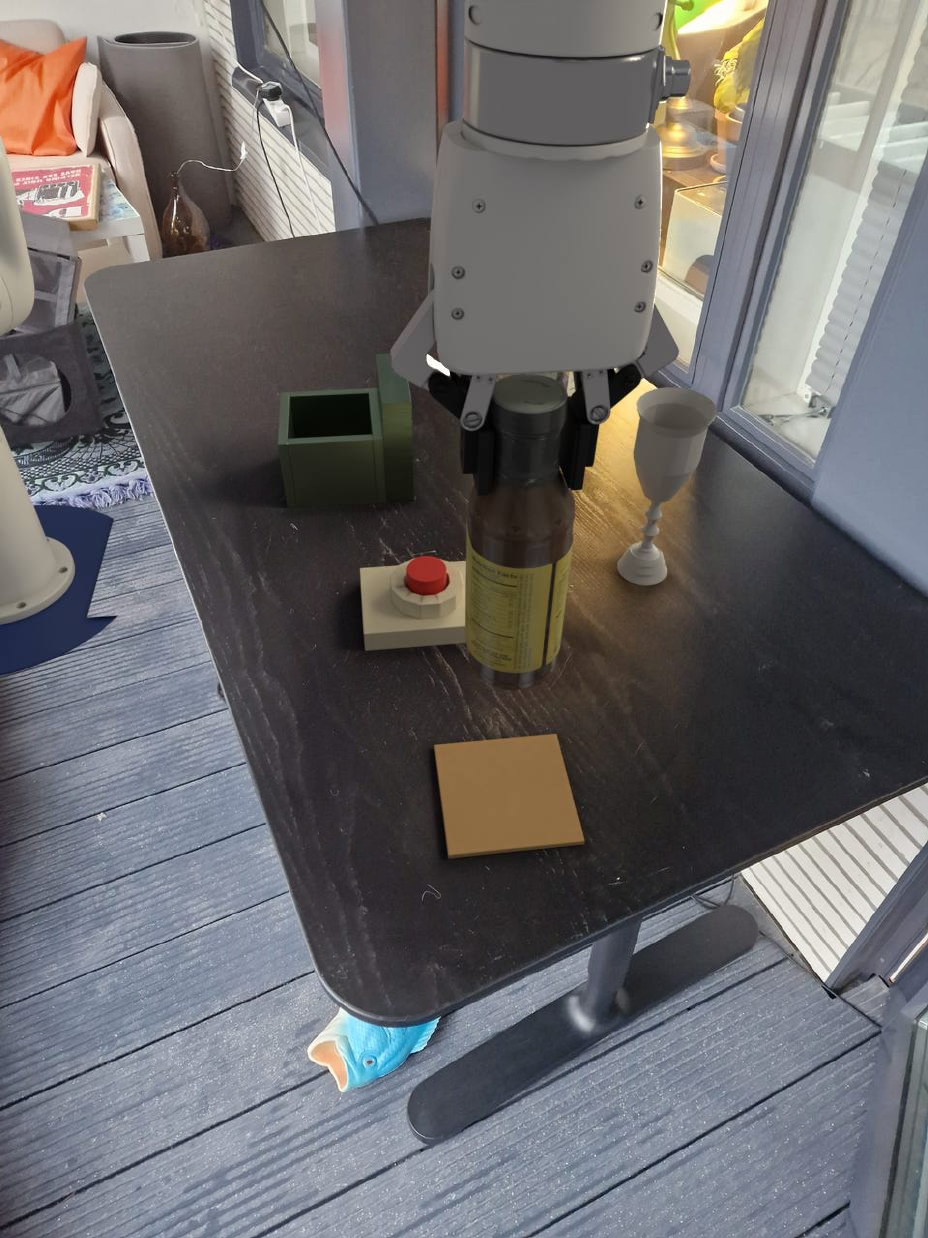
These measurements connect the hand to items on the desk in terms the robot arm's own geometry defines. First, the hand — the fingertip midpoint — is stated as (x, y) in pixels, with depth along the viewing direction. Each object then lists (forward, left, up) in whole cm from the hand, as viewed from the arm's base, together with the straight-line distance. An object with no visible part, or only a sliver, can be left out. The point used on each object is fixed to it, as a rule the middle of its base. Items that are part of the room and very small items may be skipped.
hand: (525, 475), depth 46 cm
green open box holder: (-10, +43, -29) cm, 53 cm away
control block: (-4, +20, -29) cm, 35 cm away
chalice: (+18, +24, -29) cm, 42 cm away
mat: (0, -1, -29) cm, 29 cm away
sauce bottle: (0, 0, -15) cm, 15 cm away
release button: (-4, +20, -25) cm, 32 cm away
